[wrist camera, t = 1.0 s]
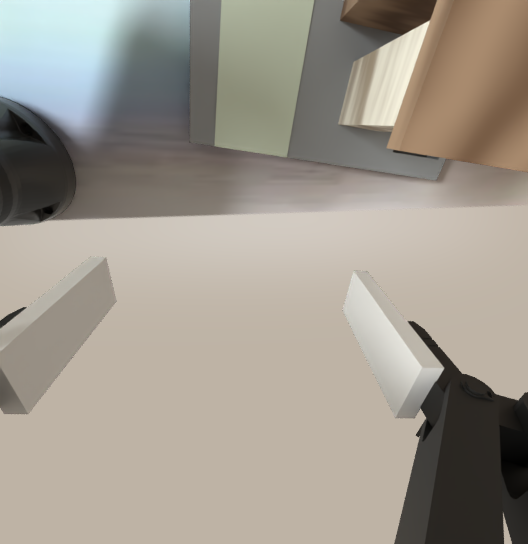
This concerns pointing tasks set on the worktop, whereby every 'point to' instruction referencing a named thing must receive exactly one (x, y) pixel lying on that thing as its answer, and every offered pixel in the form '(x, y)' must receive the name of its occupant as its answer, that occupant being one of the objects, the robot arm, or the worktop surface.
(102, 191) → the worktop surface
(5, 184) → the robot arm
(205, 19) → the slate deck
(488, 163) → the walnut tunnel
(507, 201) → the worktop surface
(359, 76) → the cream block
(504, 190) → the worktop surface
